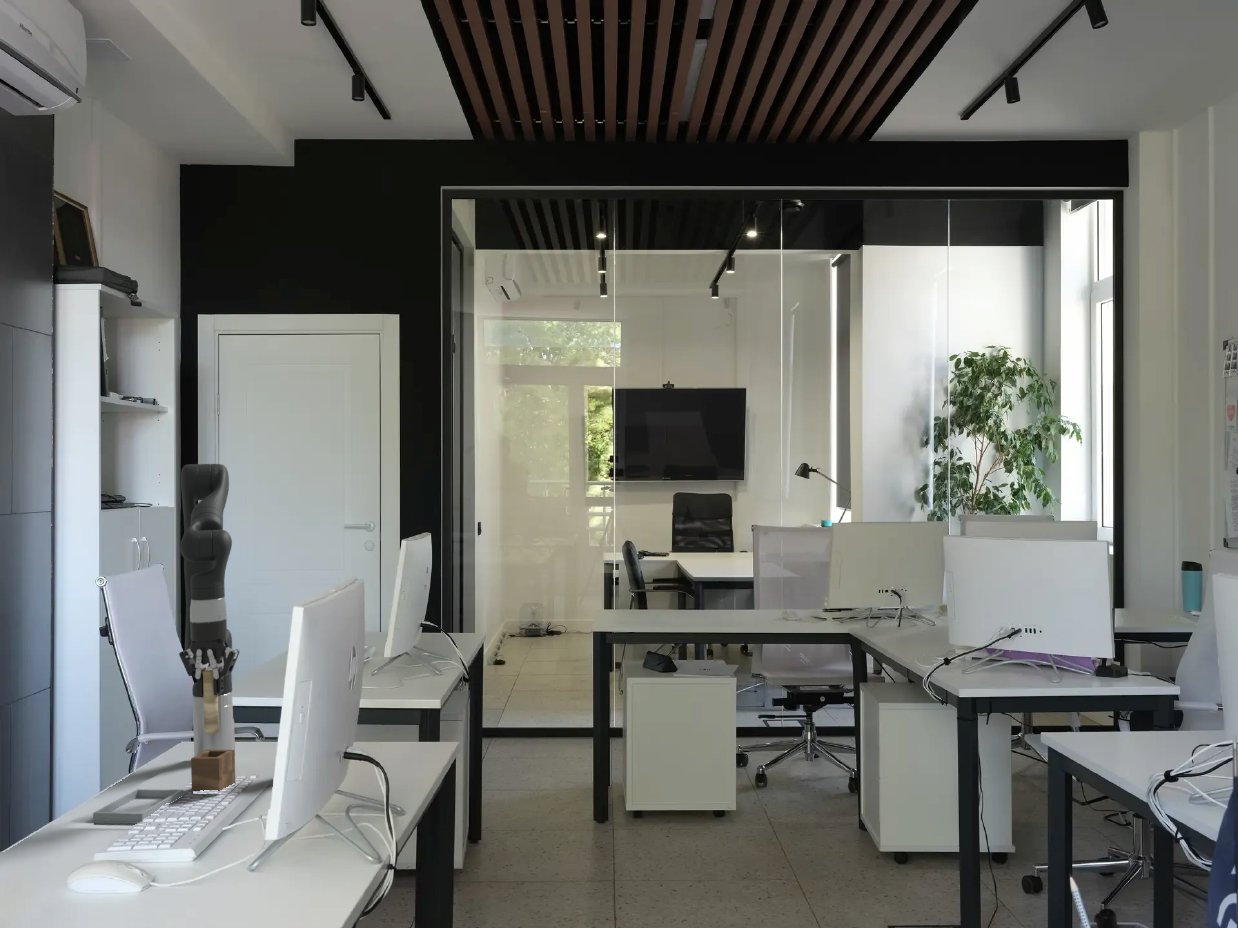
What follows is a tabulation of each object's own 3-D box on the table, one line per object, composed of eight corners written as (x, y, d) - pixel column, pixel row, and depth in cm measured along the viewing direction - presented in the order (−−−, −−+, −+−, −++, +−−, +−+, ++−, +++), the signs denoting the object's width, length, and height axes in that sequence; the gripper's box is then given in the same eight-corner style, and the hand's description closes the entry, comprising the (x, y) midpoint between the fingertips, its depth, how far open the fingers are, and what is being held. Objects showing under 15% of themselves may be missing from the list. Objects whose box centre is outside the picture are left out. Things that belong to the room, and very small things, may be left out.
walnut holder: (208, 788, 213) (207, 749, 213) (235, 788, 212) (234, 749, 212) (192, 798, 206) (190, 758, 206) (219, 799, 206) (218, 758, 206)
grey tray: (137, 799, 207) (137, 788, 207) (183, 800, 205) (183, 789, 205) (93, 824, 192) (93, 812, 192) (142, 825, 191) (142, 813, 191)
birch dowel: (209, 730, 211) (207, 668, 211) (221, 730, 211) (219, 668, 211) (201, 733, 208) (200, 671, 208) (214, 733, 208) (212, 671, 208)
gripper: (246, 615, 212) (248, 690, 212) (189, 615, 214) (191, 690, 214) (228, 620, 205) (230, 698, 205) (169, 621, 207) (171, 698, 206)
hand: (210, 694), depth 209 cm, fingers closed on birch dowel, 3 cm apart
